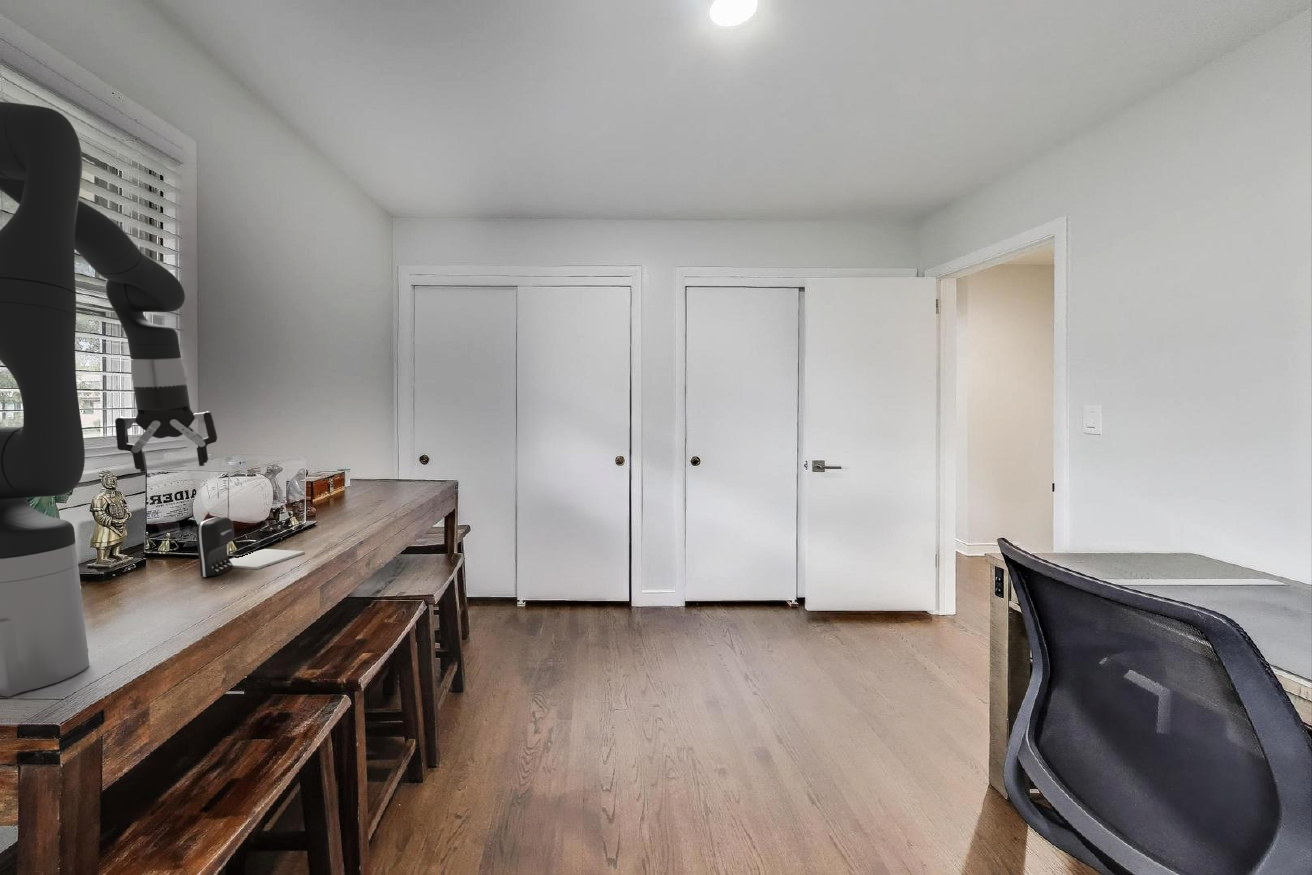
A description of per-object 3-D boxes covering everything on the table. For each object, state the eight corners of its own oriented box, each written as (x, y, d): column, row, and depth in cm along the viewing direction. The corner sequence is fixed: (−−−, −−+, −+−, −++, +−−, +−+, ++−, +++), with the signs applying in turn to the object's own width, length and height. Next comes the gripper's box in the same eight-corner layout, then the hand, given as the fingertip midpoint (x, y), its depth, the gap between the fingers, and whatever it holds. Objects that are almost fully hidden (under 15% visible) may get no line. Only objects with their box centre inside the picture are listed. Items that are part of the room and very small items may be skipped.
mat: (256, 569, 120) (256, 567, 120) (213, 566, 124) (213, 563, 123) (305, 553, 132) (304, 551, 132) (264, 550, 135) (264, 548, 135)
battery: (219, 577, 116) (214, 522, 115) (199, 578, 115) (194, 523, 114) (239, 566, 123) (235, 514, 122) (220, 568, 122) (215, 515, 121)
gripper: (103, 386, 98) (119, 477, 101) (207, 382, 106) (219, 467, 109) (112, 383, 104) (127, 469, 107) (210, 380, 112) (221, 460, 115)
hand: (173, 468), depth 108 cm, fingers open, 8 cm apart
